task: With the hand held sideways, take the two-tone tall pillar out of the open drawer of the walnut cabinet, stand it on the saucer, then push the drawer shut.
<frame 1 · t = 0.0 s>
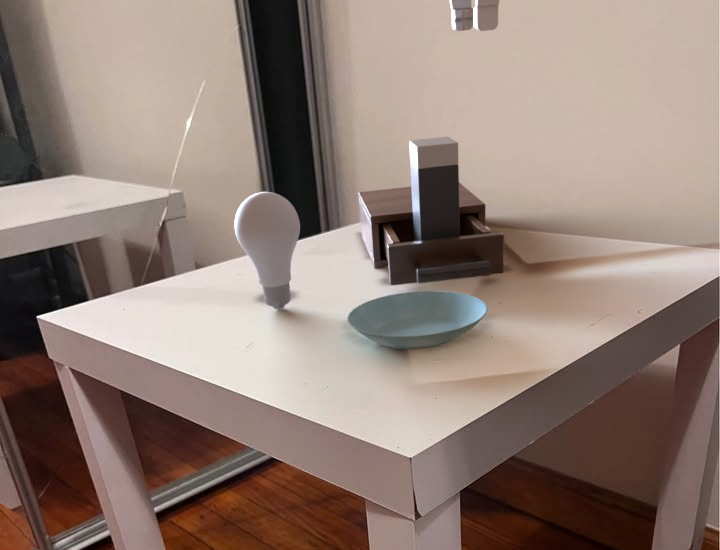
hand: (473, 30, 70), 22 cm above the table, tool pointing down, fingers open, 8 cm apart
cabinet: (419, 246, 92), on the table
two-tone tall pillar: (436, 254, 81), point 2 cm above the table, touching drawer
drawer: (438, 248, 80), point 3 cm above the table, slide at 9.0 cm, touching two-tone tall pillar
saucer: (418, 338, 66), on the table
lightbulb: (279, 310, 76), on the table
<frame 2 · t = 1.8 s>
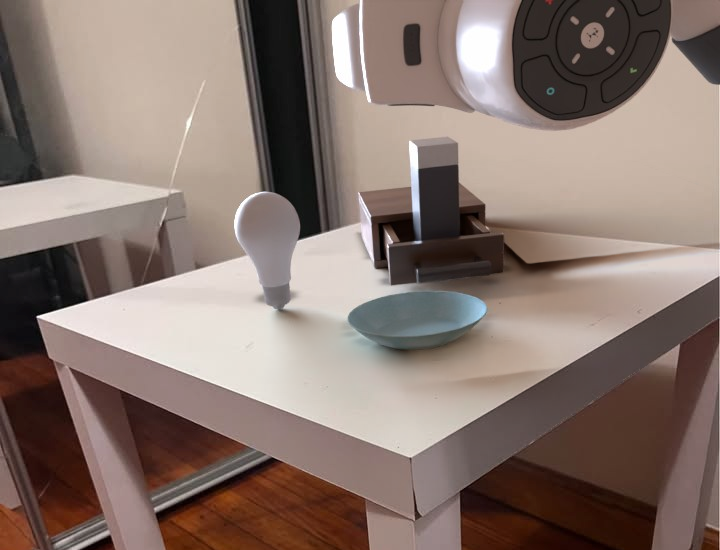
hand: (458, 36, 59), 22 cm above the table, tool horizontal, fingers open, 8 cm apart
nothing on the table moved.
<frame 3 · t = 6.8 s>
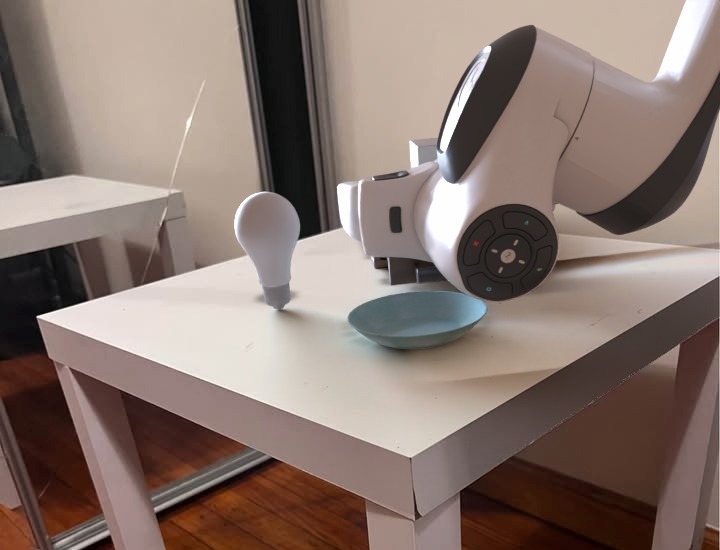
hand: (432, 182, 78), 9 cm above the table, tool horizontal, fingers closed on two-tone tall pillar, 4 cm apart
two-tone tall pillar: (436, 254, 81), point 2 cm above the table, touching drawer, gripper
everything else where it was.
when the fingers open (9 cm above the table, at t = 15.3 s): two-tone tall pillar stays where it is, resting on saucer.
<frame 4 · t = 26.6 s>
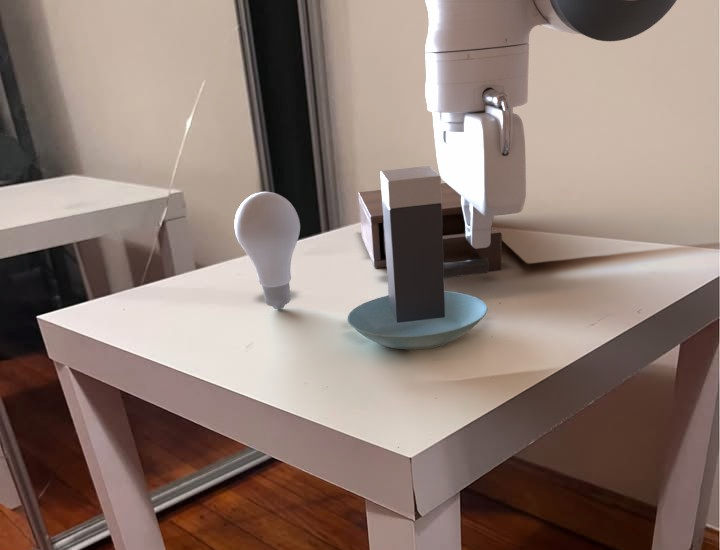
hand: (477, 244, 74), 4 cm above the table, tool pointing down, fingers closed
two-tone tall pillar: (416, 311, 65), point 2 cm above the table, touching saucer
drawer: (436, 246, 80), point 3 cm above the table, slide at 8.1 cm, touching gripper
saucer: (418, 338, 66), on the table, touching two-tone tall pillar
everything else where it was.
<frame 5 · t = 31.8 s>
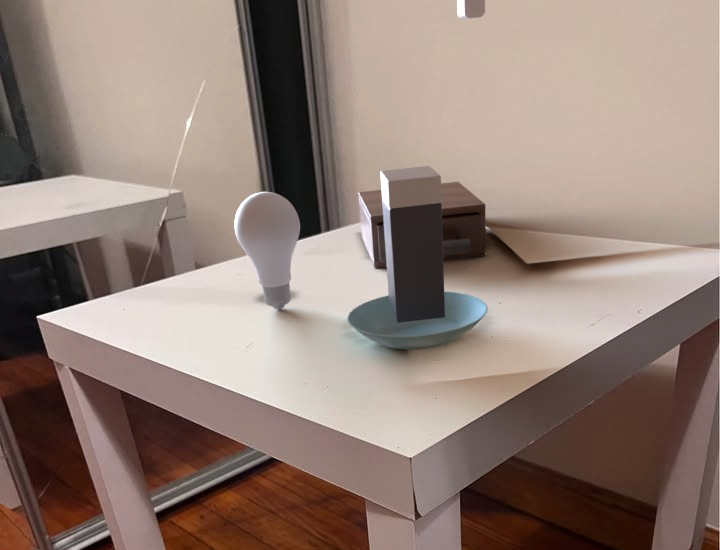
hand: (471, 18, 67), 23 cm above the table, tool pointing down, fingers closed
drawer: (423, 229, 87), point 3 cm above the table, slide at 0.0 cm
everything else where it was.
at the end: two-tone tall pillar inside the target area on the saucer (0.1 cm from its centre), point 2.5 cm above the saucer's base; two-tone tall pillar tilted 0°; drawer slide at 0.0 cm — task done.
